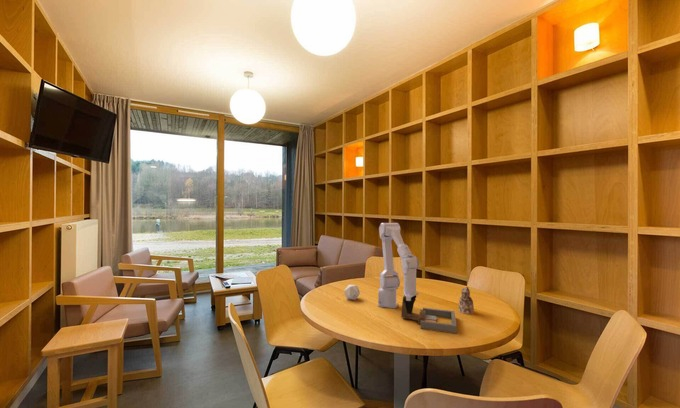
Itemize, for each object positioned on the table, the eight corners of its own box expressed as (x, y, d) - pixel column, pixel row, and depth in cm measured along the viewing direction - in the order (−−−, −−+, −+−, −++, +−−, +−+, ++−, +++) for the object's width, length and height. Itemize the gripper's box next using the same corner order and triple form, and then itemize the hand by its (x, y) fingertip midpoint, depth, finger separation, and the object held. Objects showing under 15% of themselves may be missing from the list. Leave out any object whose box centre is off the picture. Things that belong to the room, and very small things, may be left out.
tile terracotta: (424, 326, 131) (424, 323, 131) (424, 322, 135) (424, 319, 135) (436, 328, 129) (436, 325, 129) (436, 324, 134) (436, 320, 134)
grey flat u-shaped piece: (420, 328, 128) (420, 321, 128) (422, 313, 146) (422, 307, 146) (456, 333, 123) (456, 326, 123) (454, 317, 141) (454, 311, 141)
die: (350, 303, 162) (361, 289, 163) (339, 293, 166) (349, 279, 167) (354, 304, 169) (364, 290, 170) (343, 295, 173) (353, 281, 174)
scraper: (400, 320, 134) (401, 300, 134) (402, 312, 145) (404, 294, 145) (423, 325, 131) (425, 305, 131) (425, 316, 141) (426, 297, 141)
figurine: (456, 311, 149) (456, 287, 149) (461, 308, 154) (462, 285, 154) (470, 315, 144) (470, 290, 144) (476, 311, 149) (476, 288, 149)
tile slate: (424, 321, 136) (424, 318, 136) (425, 317, 141) (425, 314, 141) (436, 323, 135) (436, 319, 135) (436, 319, 140) (436, 316, 140)
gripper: (417, 287, 130) (417, 318, 130) (419, 279, 144) (419, 307, 144) (401, 286, 133) (401, 316, 132) (404, 278, 146) (404, 306, 146)
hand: (409, 311), depth 138 cm, fingers closed on scraper, 3 cm apart
